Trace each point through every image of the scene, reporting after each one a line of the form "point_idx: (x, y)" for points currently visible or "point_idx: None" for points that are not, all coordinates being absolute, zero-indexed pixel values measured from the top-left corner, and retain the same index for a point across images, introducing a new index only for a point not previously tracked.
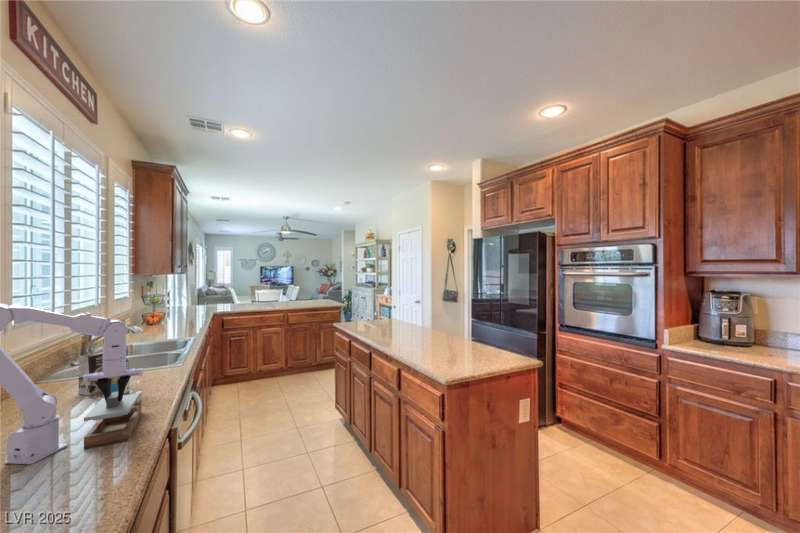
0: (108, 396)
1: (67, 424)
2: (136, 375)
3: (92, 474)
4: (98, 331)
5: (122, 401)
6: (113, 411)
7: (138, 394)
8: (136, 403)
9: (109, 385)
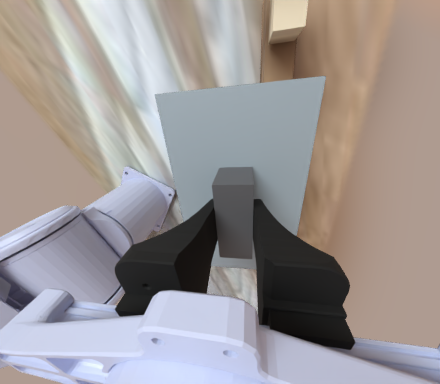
0: (216, 234)
1: (88, 35)
2: (404, 355)
3: (250, 283)
4: None
5: (258, 184)
6: (252, 259)
7: (318, 105)
8: (286, 41)
9: (201, 255)
